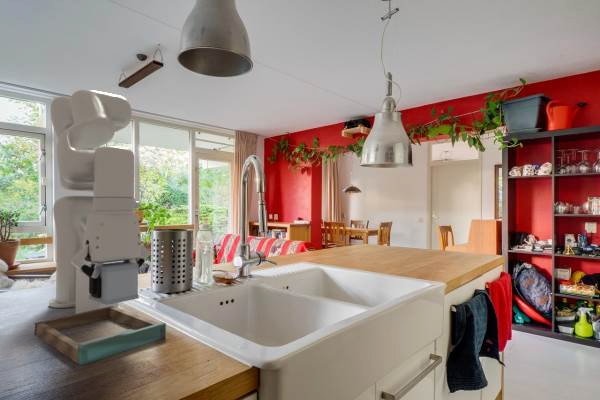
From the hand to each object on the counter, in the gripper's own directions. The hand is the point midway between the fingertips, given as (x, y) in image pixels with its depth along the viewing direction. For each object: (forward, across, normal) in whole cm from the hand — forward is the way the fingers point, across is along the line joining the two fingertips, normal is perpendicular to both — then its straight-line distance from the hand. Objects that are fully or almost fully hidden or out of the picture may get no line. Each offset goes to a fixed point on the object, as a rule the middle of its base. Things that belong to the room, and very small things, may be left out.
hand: (113, 292), depth 71 cm
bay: (+10, 0, -7) cm, 12 cm away
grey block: (+1, 0, 0) cm, 1 cm away
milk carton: (+10, -8, -26) cm, 29 cm away
